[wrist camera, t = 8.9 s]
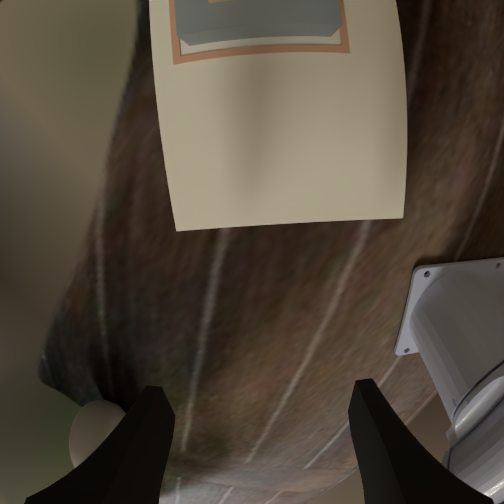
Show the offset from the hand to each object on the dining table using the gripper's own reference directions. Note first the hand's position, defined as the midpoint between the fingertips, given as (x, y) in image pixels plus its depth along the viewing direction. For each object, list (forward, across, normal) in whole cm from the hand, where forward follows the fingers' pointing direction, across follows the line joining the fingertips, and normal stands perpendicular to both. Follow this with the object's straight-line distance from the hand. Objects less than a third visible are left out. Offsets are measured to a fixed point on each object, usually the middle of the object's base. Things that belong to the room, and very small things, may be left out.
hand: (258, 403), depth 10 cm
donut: (+10, +16, +16) cm, 25 cm away
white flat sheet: (+9, -2, -12) cm, 16 cm away
